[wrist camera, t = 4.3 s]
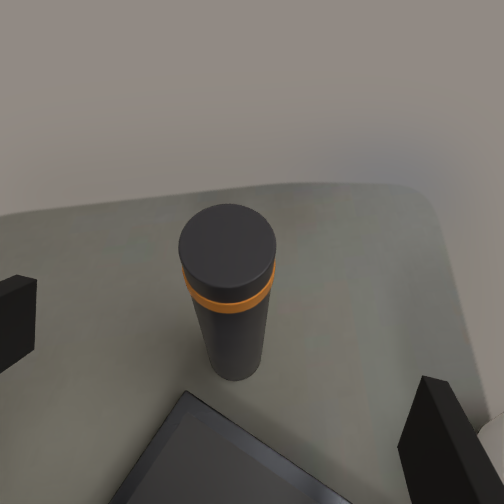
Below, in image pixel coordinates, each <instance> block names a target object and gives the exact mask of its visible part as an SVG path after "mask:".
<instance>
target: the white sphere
mask: <svg viewBox="0 0 504 504" xmlns="http://www.w3.org/2000/svg"><path fill="white" fill-rule="evenodd" d="M477 437H478V438H479V440H480V442H481V444H482V446H483V448H484V449H485V451H486V453H487V455H488V457H489V459H490V460H491V462H492V464H493V466H494V468H495V470H496V471H497V473H498V475H499V477H500V479H501V481H502V482H503V484H504V412H503V413H501V414H500V415H499V416H497V417H495V418H494V419H493V420H491V421H490V422H488V423H487V424H485V425H484V426H483V427H482V428H481V430H480V431H479V433H478V435H477Z"/></svg>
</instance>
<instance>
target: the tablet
mask: <svg viewBox="0 0 504 504" xmlns="http://www.w3.org/2000/svg"><path fill="white" fill-rule="evenodd" d="M109 504H352V503H351V502H349V501H348V500H347V499H345V498H344V497H342V496H341V495H339V494H338V493H336V492H335V491H333V490H332V489H330V488H329V487H327V486H326V485H325V484H323V483H322V482H320V481H319V480H317V479H316V478H314V477H313V476H311V475H310V474H308V473H307V472H306V471H304V470H303V469H301V468H300V467H298V466H297V465H295V464H294V463H292V462H291V461H289V460H288V459H286V458H285V457H284V456H282V455H281V454H279V453H278V452H276V451H275V450H273V449H272V448H270V447H269V446H267V445H266V444H264V443H263V442H262V441H260V440H259V439H257V438H256V437H254V436H253V435H251V434H250V433H248V432H247V431H245V430H244V429H243V428H241V427H240V426H238V425H237V424H235V423H234V422H232V421H231V420H229V419H228V418H226V417H225V416H223V415H222V414H221V413H219V412H218V411H216V410H215V409H213V408H212V407H210V406H209V405H207V404H206V403H204V402H203V401H202V400H200V399H199V398H197V397H196V396H194V395H193V394H191V393H190V392H188V391H185V392H184V393H183V395H182V396H181V398H180V399H179V400H178V402H177V403H176V405H175V406H174V408H173V409H172V411H171V412H170V414H169V415H168V417H167V418H166V420H165V421H164V423H163V424H162V426H161V427H160V429H159V430H158V431H157V433H156V434H155V436H154V437H153V439H152V440H151V442H150V443H149V445H148V446H147V448H146V449H145V451H144V452H143V454H142V455H141V457H140V458H139V459H138V461H137V462H136V464H135V465H134V467H133V468H132V470H131V471H130V473H129V474H128V476H127V477H126V479H125V480H124V482H123V483H122V485H121V486H120V488H119V489H118V490H117V492H116V493H115V495H114V496H113V498H112V499H111V501H110V502H109Z"/></svg>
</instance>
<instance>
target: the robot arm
mask: <svg viewBox="0 0 504 504" xmlns="http://www.w3.org/2000/svg"><path fill="white" fill-rule="evenodd" d="M36 290H37V279H33V278H29V277H25V276H21V275H14V276H12V277H10V278H7V279H5V280H3V281H0V373H2V372H3V371H5V370H6V369H7V368H9V367H10V366H12V365H13V364H14V363H16V362H17V361H19V360H20V359H21V358H23V357H24V356H26V355H27V354H29V353H30V352H31V351H33V350H34V344H35V317H36ZM397 448H398V452H399V456H400V460H401V464H402V467H403V471H404V475H405V479H406V483H407V487H408V491H409V495H410V498H411V502H412V504H504V484H503V482H502V481H501V479H500V477H499V475H498V473H497V471H496V470H495V468H494V466H493V464H492V462H491V460H490V459H489V457H488V455H487V453H486V451H485V449H484V448H483V446H482V444H481V442H480V440H479V438H478V437H477V435H476V433H475V431H474V429H473V427H472V426H471V424H470V422H469V420H468V418H467V416H466V415H465V413H464V411H463V409H462V407H461V405H460V403H459V402H458V400H457V398H456V396H455V394H454V392H453V391H452V389H451V387H450V385H449V383H448V382H447V381H443V380H439V379H435V378H431V377H427V376H423V375H422V378H421V381H420V384H419V386H418V389H417V392H416V395H415V398H414V401H413V404H412V406H411V409H410V412H409V415H408V418H407V421H406V424H405V426H404V429H403V432H402V435H401V438H400V441H399V443H398V446H397Z"/></svg>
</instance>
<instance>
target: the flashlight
mask: <svg viewBox="0 0 504 504" xmlns="http://www.w3.org/2000/svg"><path fill="white" fill-rule="evenodd" d="M178 249H179V256H180V260H181V263H182V272H183V276H184V279H185V283H186V286H187V288H188V290H189V292H190V294H191V297H192V301H193V304H194V307H195V311H196V314H197V318H198V321H199V324H200V328H201V331H202V334H203V338H204V341H205V345H206V348H207V351H208V355H209V358H210V362H211V365H212V367H213V369H214V370H215V371H216V373H217V374H218V375H220V376H221V377H223V378H225V379H227V380H232V381H238V380H243V379H246V378H248V377H249V376H251V375H252V374H253V373H254V372H255V371H256V369H257V368H258V366H259V364H260V361H261V354H262V347H263V340H264V333H265V326H266V319H267V312H268V304H269V297H270V290H271V286H272V283H273V279H274V273H275V254H276V238H275V234H274V232H273V229H272V228H271V226H270V224H269V223H268V222H267V220H266V219H265V218H264V217H263V216H262V215H260V214H259V213H258V212H256V211H254V210H252V209H250V208H248V207H245V206H242V205H237V204H220V205H215V206H211V207H209V208H206V209H204V210H202V211H200V212H199V213H197V214H196V215H195V216H193V217H192V218H191V219H190V220H189V221H188V223H187V224H186V225H185V227H184V229H183V230H182V233H181V235H180V239H179V246H178Z"/></svg>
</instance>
